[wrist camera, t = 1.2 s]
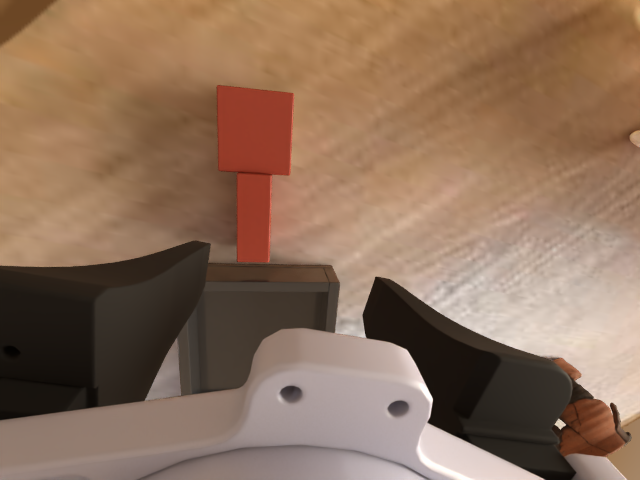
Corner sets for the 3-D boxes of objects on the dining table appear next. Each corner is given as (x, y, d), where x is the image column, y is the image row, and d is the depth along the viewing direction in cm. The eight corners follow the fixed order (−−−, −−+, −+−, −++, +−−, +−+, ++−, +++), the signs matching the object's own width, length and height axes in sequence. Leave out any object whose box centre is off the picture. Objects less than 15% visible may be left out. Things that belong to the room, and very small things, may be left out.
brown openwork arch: (583, 344, 33) (663, 426, 28) (527, 380, 40) (584, 451, 34) (508, 375, 29) (586, 479, 24) (458, 409, 35) (511, 497, 30)
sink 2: (194, 413, 28) (184, 448, 25) (186, 262, 24) (172, 281, 21) (318, 407, 30) (323, 438, 27) (332, 265, 26) (340, 282, 22)
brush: (225, 246, 24) (218, 262, 21) (223, 91, 21) (214, 83, 17) (285, 247, 25) (286, 263, 21) (291, 99, 21) (294, 91, 18)
